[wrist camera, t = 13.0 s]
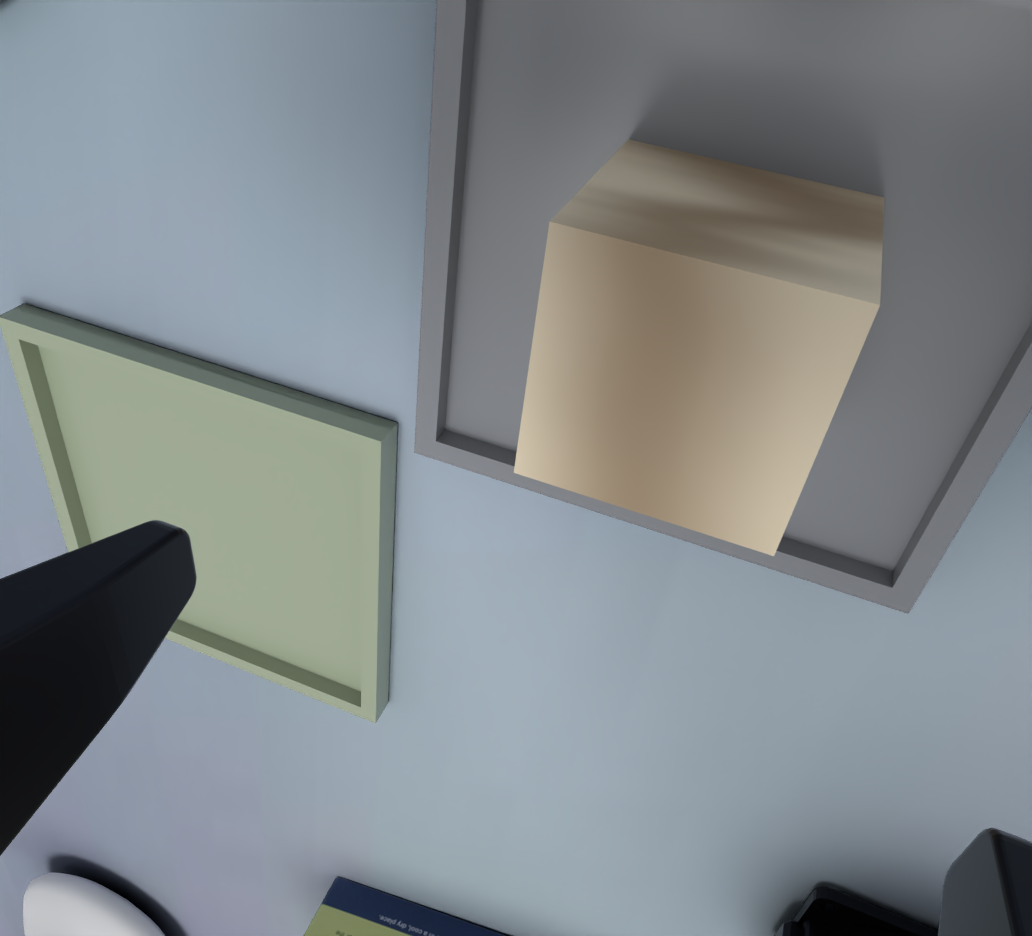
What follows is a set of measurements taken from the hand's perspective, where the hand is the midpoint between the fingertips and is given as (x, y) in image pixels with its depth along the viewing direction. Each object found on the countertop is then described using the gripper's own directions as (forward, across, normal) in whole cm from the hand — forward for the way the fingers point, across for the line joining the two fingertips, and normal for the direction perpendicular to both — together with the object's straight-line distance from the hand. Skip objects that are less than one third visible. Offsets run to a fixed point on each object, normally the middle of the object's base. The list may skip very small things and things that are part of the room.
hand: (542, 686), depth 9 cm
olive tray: (+12, +14, +13) cm, 22 cm away
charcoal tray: (+12, 0, 0) cm, 12 cm away
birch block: (+11, 0, 0) cm, 11 cm away
